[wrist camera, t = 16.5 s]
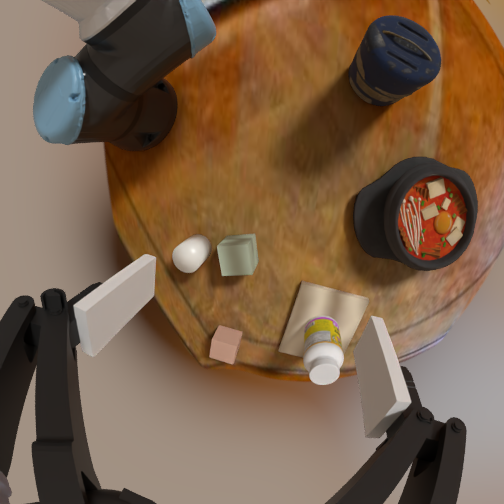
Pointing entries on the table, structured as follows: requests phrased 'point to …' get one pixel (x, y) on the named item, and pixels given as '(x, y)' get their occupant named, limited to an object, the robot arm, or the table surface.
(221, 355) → the terracotta block
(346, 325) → the birch board
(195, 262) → the white domed cylinder
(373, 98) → the canister
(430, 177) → the casserole
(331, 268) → the table surface
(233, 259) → the sage block
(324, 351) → the supplement bottle
